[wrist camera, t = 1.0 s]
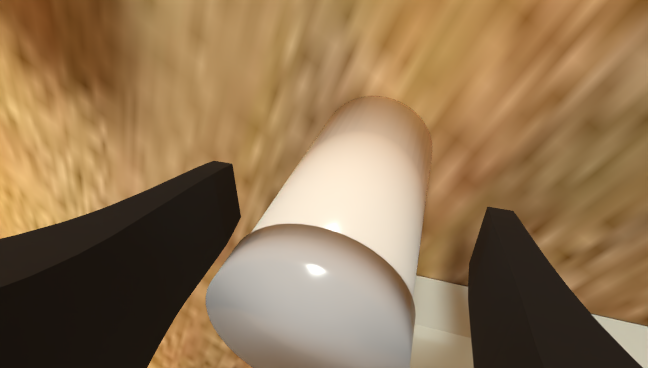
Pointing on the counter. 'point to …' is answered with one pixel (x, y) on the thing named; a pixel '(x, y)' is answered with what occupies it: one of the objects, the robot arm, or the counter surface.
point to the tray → (455, 336)
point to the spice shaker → (334, 250)
